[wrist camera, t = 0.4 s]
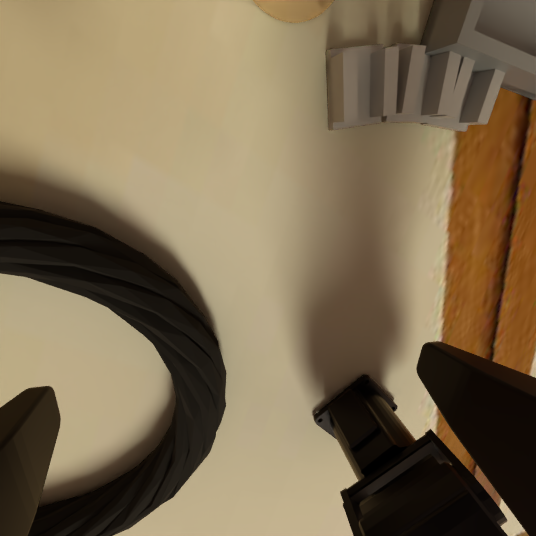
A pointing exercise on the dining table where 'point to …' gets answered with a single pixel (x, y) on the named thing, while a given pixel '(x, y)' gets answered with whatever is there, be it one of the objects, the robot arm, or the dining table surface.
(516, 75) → the holder
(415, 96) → the clip
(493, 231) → the dining table surface
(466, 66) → the clip
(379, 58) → the clip
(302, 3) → the beer glass
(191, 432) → the cable lock
